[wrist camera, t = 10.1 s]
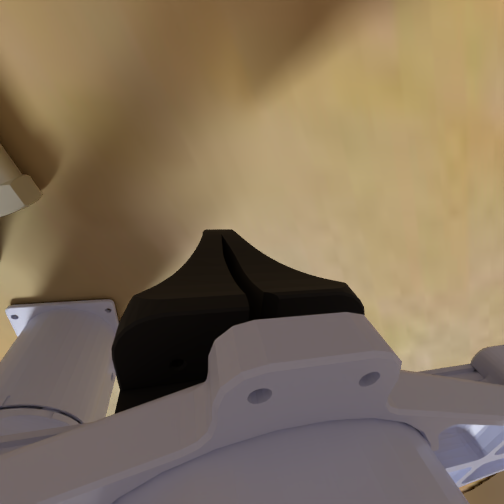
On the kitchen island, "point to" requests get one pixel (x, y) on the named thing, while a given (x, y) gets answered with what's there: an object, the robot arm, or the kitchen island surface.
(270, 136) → the kitchen island surface
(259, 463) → the robot arm
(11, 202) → the pipe fitting
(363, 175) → the kitchen island surface
